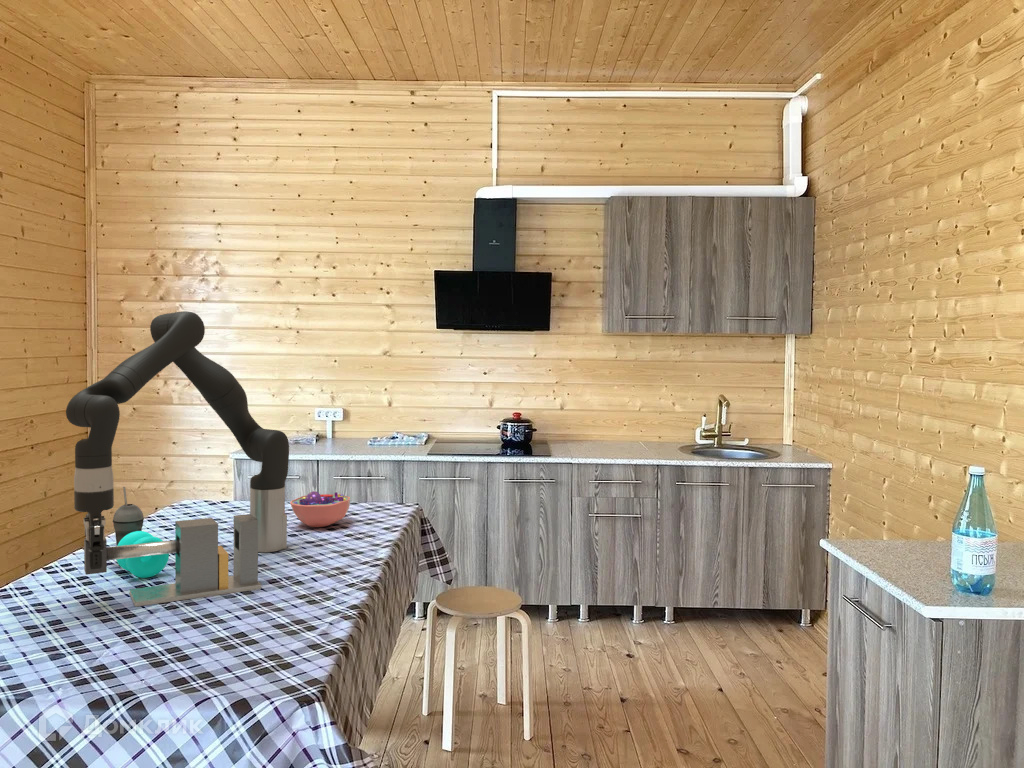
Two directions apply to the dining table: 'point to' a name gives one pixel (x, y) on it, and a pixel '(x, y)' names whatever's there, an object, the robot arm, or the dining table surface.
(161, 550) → the shaft
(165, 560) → the donuts
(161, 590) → the pillow blocks
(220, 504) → the dining table surface
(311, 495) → the cell model
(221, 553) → the spacer
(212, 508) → the dining table surface
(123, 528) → the beverage cup
